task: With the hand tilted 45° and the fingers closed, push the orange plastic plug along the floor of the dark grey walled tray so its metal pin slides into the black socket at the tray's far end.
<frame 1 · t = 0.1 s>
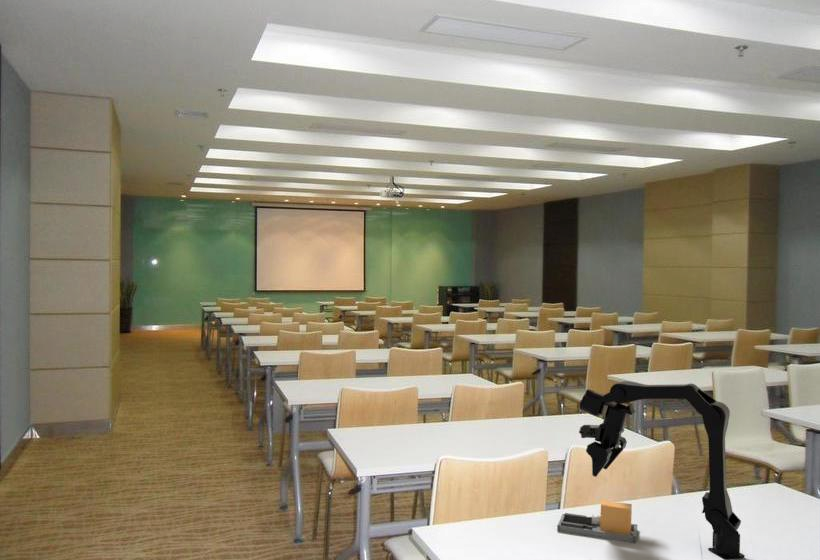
hand: (599, 472, 195), 15 cm above the table, tool pointing down, fingers open, 9 cm apart
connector: (613, 532, 186), point 1 cm above the table, touching tray
tray: (613, 536, 186), on the table
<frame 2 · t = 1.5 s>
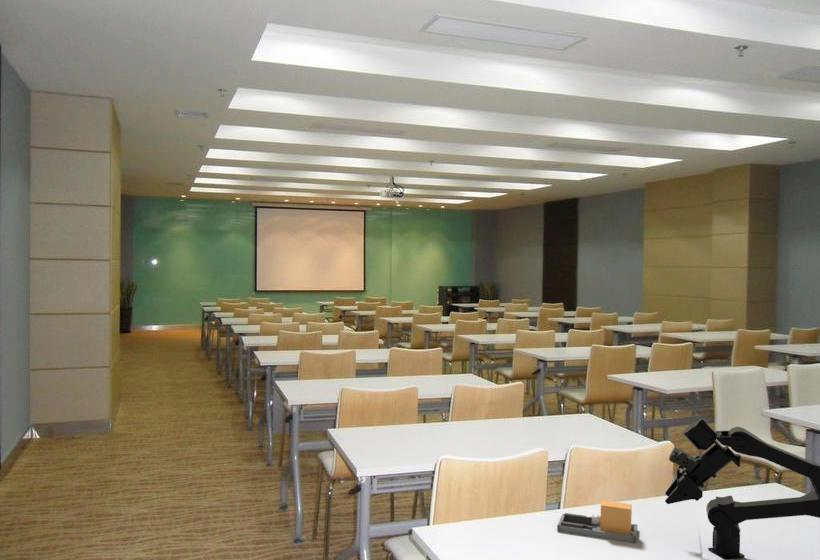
hand: (666, 498, 181), 13 cm above the table, tool tilted 45°, fingers open, 7 cm apart
nothing on the table moved.
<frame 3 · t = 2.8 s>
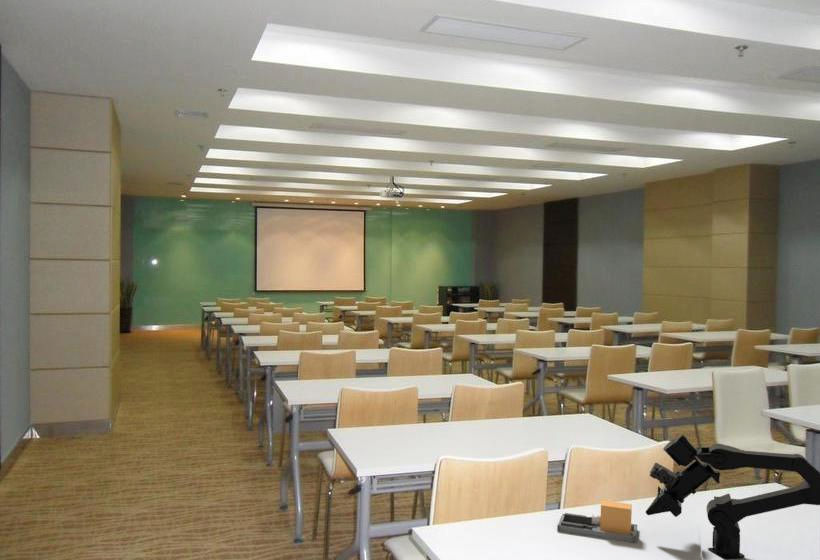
hand: (646, 513, 183), 8 cm above the table, tool tilted 45°, fingers closed
nothing on the table moved.
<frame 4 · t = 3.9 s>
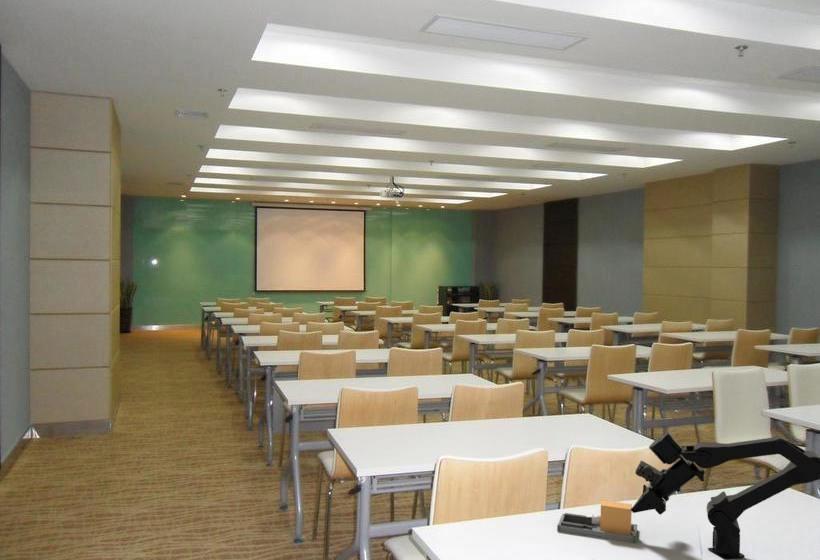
hand: (632, 511, 185), 8 cm above the table, tool tilted 45°, fingers closed, pressing on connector
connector: (613, 532, 186), point 1 cm above the table, touching gripper, tray
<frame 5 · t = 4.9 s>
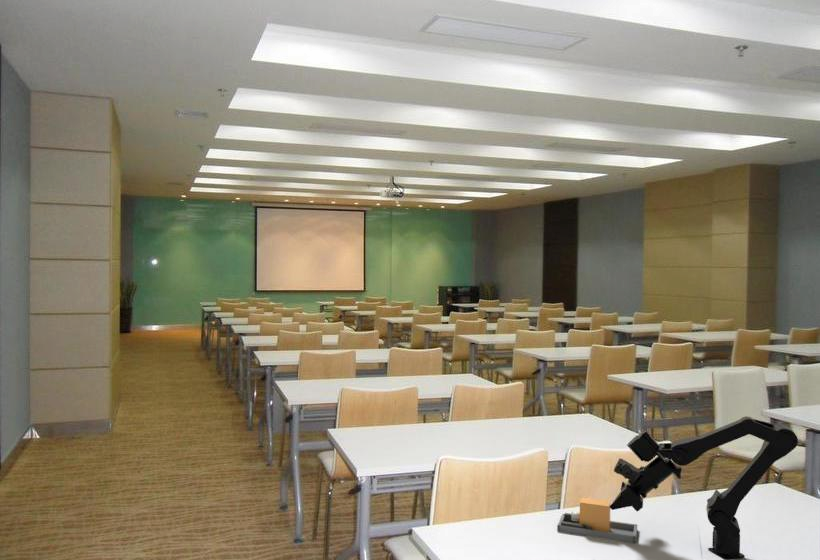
hand: (610, 508, 187), 8 cm above the table, tool tilted 45°, fingers closed, pressing on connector
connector: (592, 529, 188), point 1 cm above the table, touching gripper
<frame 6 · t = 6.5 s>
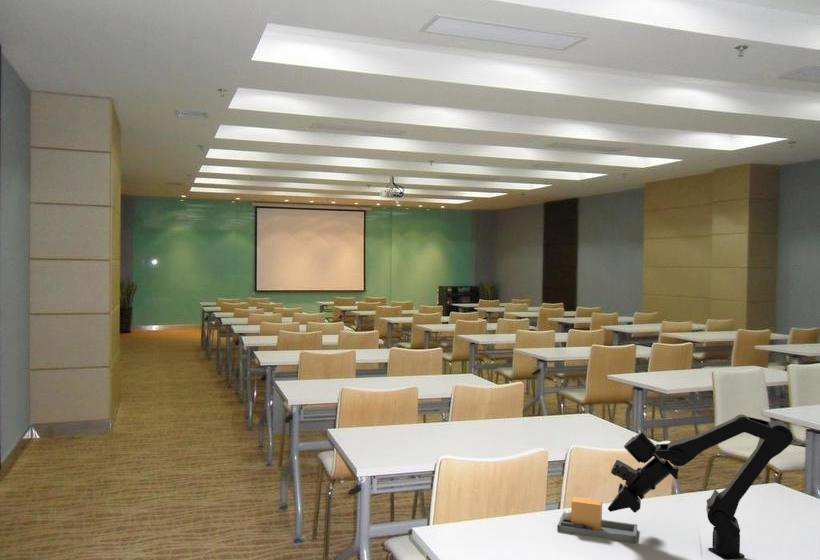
hand: (608, 509, 187), 7 cm above the table, tool tilted 45°, fingers closed
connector: (584, 528, 189), point 1 cm above the table, touching tray
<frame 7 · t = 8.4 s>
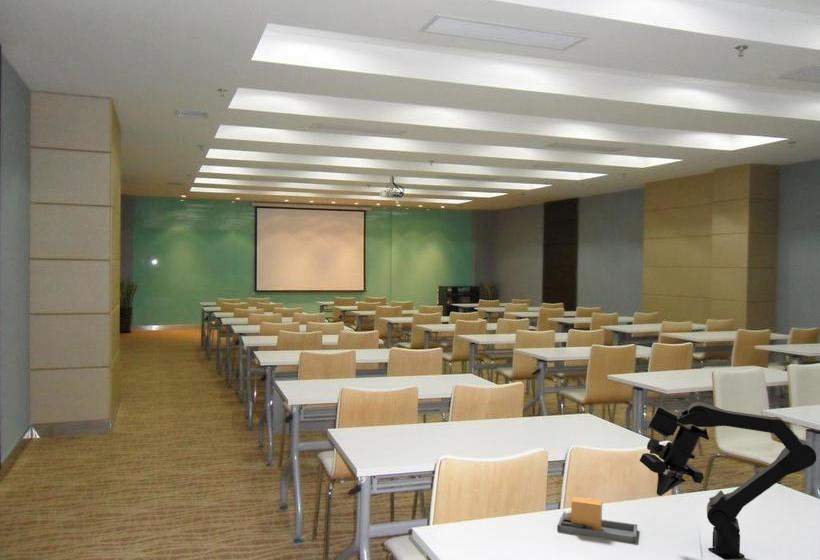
hand: (658, 494, 183), 13 cm above the table, tool tilted 25°, fingers closed
nothing on the table moved.
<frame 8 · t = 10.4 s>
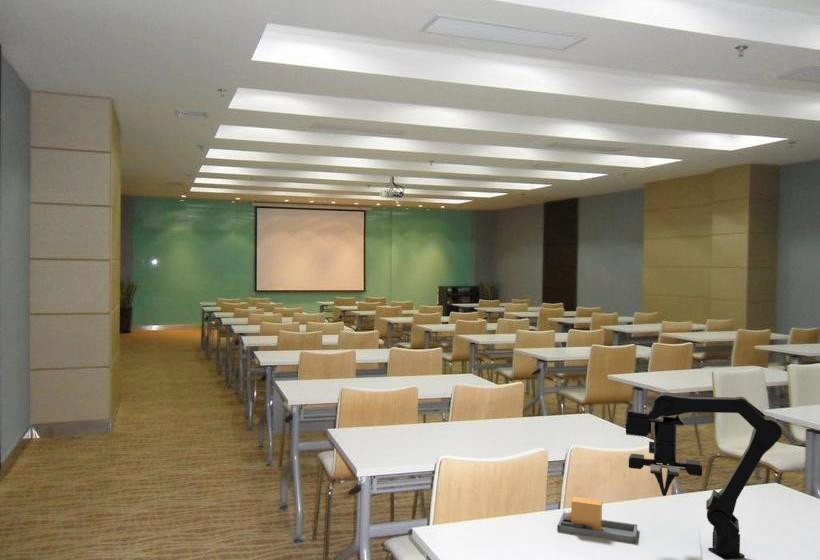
hand: (664, 495, 182), 13 cm above the table, tool pointing down, fingers closed
nothing on the table moved.
at the end: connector 0.9 cm from the target spot, point 1.0 cm above the table; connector tilted 0° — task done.
